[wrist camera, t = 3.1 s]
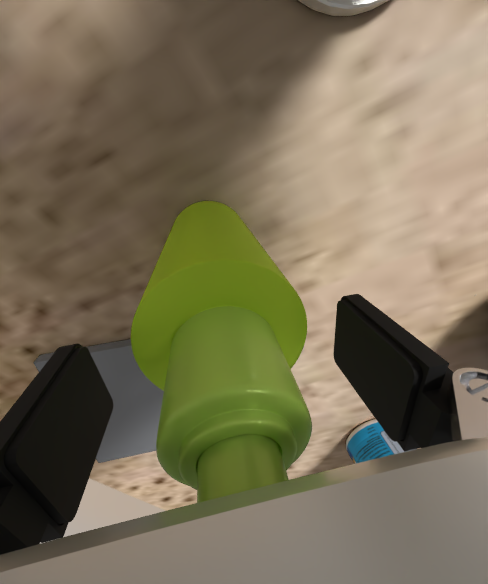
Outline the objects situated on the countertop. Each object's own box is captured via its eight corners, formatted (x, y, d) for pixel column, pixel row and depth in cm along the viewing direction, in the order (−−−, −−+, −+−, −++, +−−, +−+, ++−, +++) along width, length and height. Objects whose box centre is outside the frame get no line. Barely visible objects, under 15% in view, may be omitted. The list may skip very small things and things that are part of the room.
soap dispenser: (200, 294, 22) (207, 819, 4) (155, 222, 19) (-508, 1117, 1) (261, 265, 22) (533, 705, 4) (226, 186, 18) (832, 685, 1)
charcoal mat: (39, 354, 22) (33, 362, 21) (209, 325, 24) (209, 331, 23) (101, 453, 29) (98, 462, 28) (229, 426, 31) (230, 434, 30)
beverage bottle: (404, 410, 35) (614, 662, 17) (392, 446, 39) (554, 683, 21) (346, 422, 34) (505, 700, 16) (340, 458, 38) (463, 714, 20)
